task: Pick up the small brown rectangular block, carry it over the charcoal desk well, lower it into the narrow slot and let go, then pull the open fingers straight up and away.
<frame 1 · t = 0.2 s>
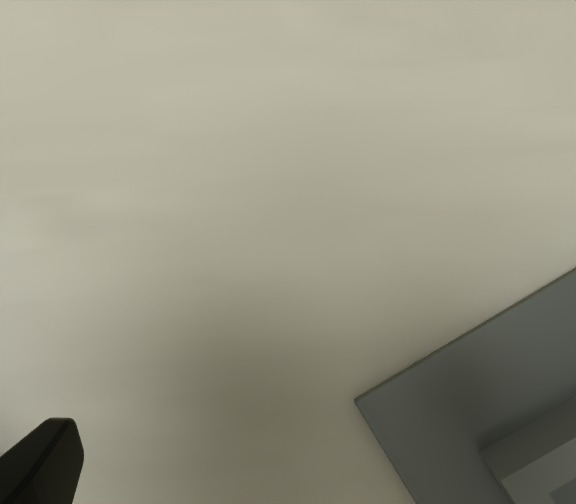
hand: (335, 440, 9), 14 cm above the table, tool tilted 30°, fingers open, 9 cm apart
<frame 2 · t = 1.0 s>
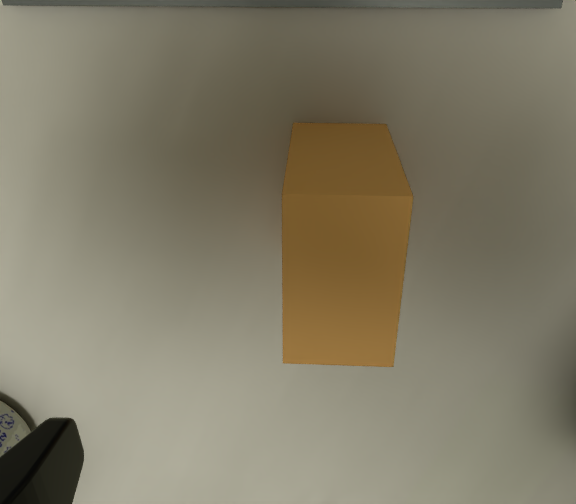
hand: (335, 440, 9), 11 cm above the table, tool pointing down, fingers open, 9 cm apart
brown rectangular block: (336, 194, 19), on the table
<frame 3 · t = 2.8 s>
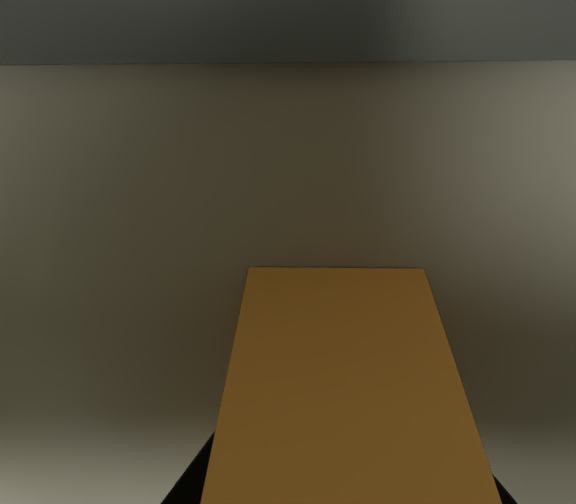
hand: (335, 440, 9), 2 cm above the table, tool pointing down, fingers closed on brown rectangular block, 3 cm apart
brown rectangular block: (332, 378, 11), on the table, touching gripper
when the fingers open (4 cm above the table, at t = 7.2 s): brown rectangular block drops 2 cm, resting on desk well.
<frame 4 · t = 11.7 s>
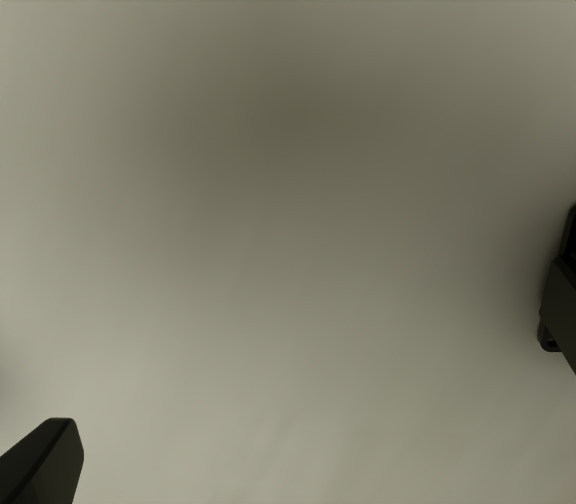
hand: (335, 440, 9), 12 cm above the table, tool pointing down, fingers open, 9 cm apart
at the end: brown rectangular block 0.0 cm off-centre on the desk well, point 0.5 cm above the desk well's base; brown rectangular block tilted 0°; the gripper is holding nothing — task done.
